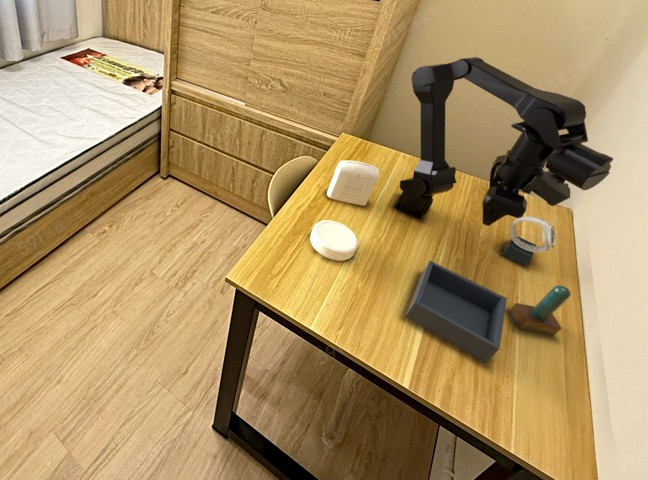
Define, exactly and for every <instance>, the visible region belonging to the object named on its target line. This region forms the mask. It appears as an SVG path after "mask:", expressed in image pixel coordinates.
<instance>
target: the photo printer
mask: <svg viewBox="0 0 648 480" xmlns="http://www.w3.org/2000/svg"><path fill="white" fill-rule="evenodd" d="M379 177H380V168H378V167H377V166H375V165H372V164H369V163H366V162H363V161H357V160H340V161H339V162H338V164H337V165H336V168H335V170H334V174H333V176H332V178H331V180H330V183H329V187H328V188H327V191H326V195H327V197H328V198H329V199H331V200H335V201H339V202H343V203H348V204H352V205H357V206H363V207H364V206H367V203H368V201H369V199H370V197H371V195H372V193H373V191H374V188H375V186H376V184H377V182H378V180H379Z"/></svg>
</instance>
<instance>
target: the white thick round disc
mask: <svg viewBox="0 0 648 480" xmlns="http://www.w3.org/2000/svg"><path fill="white" fill-rule="evenodd" d="M309 238H310V244H311V245H312V247H313V249H314V250H315V251H316V252H317V253H318V254H320V255H321V256H323V257H324V258H327V259H329V260H332V261H338V262H340V261H341V262H343V261H348V260H349V259H351V258H352V257H354V254H355V252H356V250H357V248H358V242H359V241H358V238H357V236H356V234H355V233H354V231H353V230H352V229H350V228H349V227H348V226H347V225H345V224H343V223H341V222H338V221H335V220H328V219H325V220H320V221H318V222H316V224H314V225H313V228H312V230H311V233H310V237H309Z"/></svg>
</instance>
